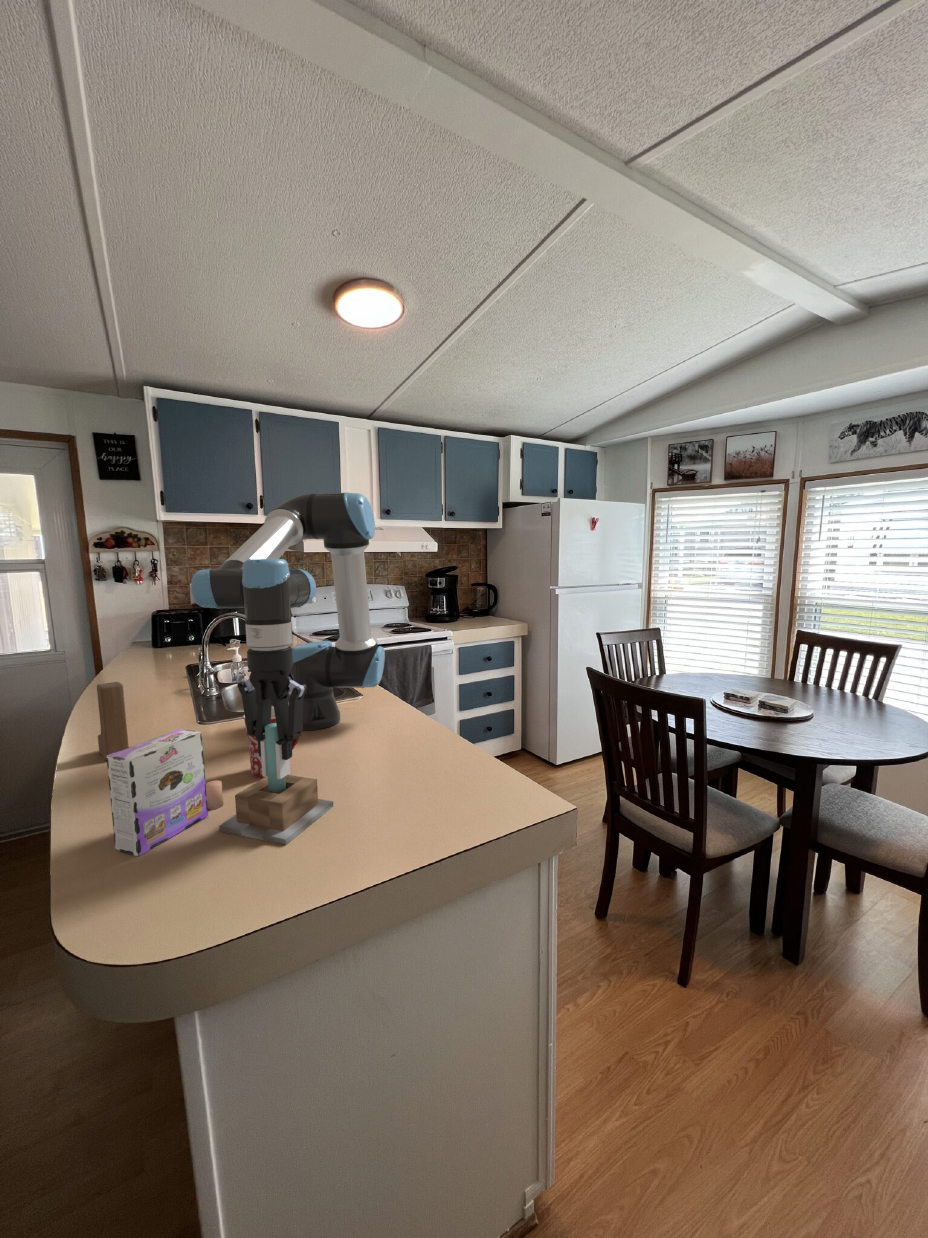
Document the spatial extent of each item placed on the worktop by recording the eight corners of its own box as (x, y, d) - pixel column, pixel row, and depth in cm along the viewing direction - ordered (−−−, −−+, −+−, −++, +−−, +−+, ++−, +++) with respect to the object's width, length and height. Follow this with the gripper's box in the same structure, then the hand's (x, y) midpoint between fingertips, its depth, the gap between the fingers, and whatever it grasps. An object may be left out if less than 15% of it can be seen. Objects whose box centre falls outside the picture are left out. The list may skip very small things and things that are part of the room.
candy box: (186, 811, 97) (179, 727, 95) (209, 817, 95) (203, 731, 93) (113, 850, 84) (104, 754, 82) (138, 857, 82) (129, 759, 80)
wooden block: (98, 752, 127) (92, 681, 124) (120, 747, 130) (113, 678, 128) (107, 762, 120) (100, 687, 118) (129, 756, 124) (123, 684, 121)
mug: (254, 784, 108) (250, 722, 106) (241, 770, 115) (237, 712, 113) (311, 768, 116) (309, 710, 114) (296, 756, 123) (293, 701, 121)
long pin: (276, 795, 95) (272, 722, 94) (290, 797, 94) (286, 723, 93) (265, 802, 92) (261, 727, 91) (278, 804, 91) (274, 729, 90)
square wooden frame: (273, 795, 103) (271, 767, 102) (333, 806, 98) (332, 776, 97) (219, 831, 90) (217, 798, 89) (286, 845, 85) (284, 811, 84)
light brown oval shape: (214, 801, 101) (213, 779, 100) (226, 803, 100) (225, 781, 99) (202, 808, 98) (200, 786, 97) (214, 811, 97) (213, 788, 96)
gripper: (218, 648, 89) (226, 777, 92) (293, 652, 84) (299, 789, 87) (249, 641, 96) (256, 761, 99) (320, 645, 91) (325, 772, 94)
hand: (276, 774), depth 93 cm, fingers closed on long pin, 2 cm apart
